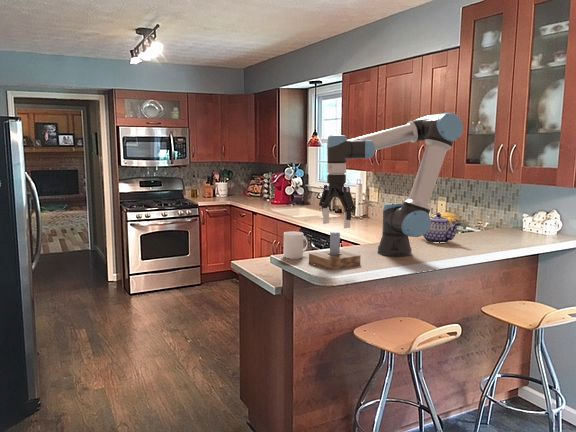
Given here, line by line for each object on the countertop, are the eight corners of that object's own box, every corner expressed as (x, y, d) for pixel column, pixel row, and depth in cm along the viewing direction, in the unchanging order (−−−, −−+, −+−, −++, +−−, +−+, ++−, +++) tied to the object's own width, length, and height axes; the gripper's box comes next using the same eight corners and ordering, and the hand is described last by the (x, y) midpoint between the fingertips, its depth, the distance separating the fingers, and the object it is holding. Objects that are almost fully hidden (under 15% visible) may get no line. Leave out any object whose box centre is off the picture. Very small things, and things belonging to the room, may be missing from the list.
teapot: (408, 239, 259) (409, 211, 257) (426, 236, 268) (427, 209, 266) (448, 247, 239) (450, 217, 237) (467, 244, 248) (469, 214, 246)
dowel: (335, 259, 206) (335, 231, 204) (341, 261, 203) (341, 233, 201) (327, 260, 204) (328, 232, 202) (333, 262, 200) (334, 233, 199)
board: (338, 258, 213) (338, 249, 213) (360, 264, 202) (360, 255, 201) (308, 262, 205) (308, 253, 204) (329, 269, 193) (329, 260, 193)
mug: (313, 257, 215) (313, 233, 214) (290, 260, 209) (290, 235, 207) (301, 253, 223) (302, 230, 221) (279, 256, 216) (279, 232, 214)
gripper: (310, 172, 206) (310, 222, 209) (349, 175, 186) (349, 230, 189) (324, 172, 210) (324, 220, 213) (364, 174, 190) (363, 228, 193)
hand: (336, 225), depth 201 cm, fingers open, 13 cm apart
